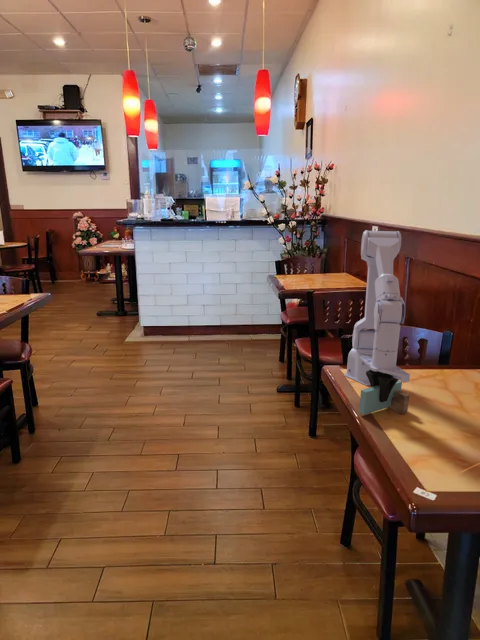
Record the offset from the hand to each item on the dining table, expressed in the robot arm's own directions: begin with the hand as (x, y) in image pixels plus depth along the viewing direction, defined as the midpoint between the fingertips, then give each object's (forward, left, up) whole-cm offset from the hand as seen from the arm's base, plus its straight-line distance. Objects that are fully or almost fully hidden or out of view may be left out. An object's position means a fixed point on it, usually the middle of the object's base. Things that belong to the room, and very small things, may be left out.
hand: (379, 399), depth 115 cm
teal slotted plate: (0, 0, -2) cm, 2 cm away
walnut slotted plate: (-1, +5, -3) cm, 6 cm away
